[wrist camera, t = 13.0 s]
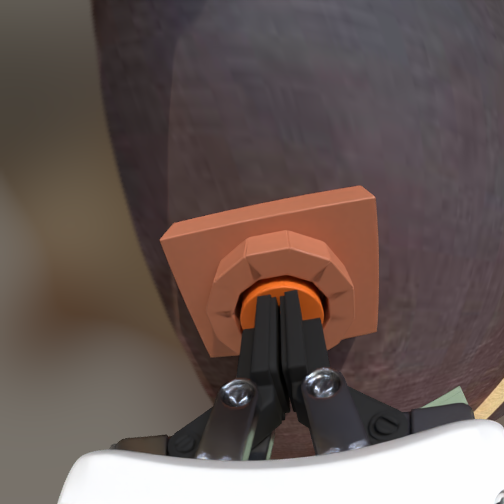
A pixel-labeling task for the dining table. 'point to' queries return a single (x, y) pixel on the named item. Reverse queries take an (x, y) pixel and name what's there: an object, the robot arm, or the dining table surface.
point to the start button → (276, 288)
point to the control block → (280, 262)
